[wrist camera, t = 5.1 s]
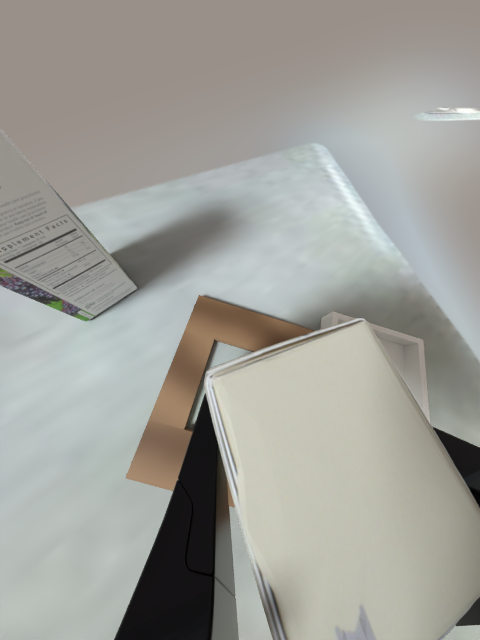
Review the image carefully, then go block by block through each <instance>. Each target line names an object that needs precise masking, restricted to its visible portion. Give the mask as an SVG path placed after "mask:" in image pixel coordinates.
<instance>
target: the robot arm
mask: <svg viewBox="0 0 480 640" xmlns="http://www.w3.org/2000/svg"><path fill="white" fill-rule="evenodd" d="M433 429H434V431H435V432H436V434H437V436H438V438H439V439H440V441H441V443H442V444H443V446H444V448H445V449H446V451H447V453H448V454H449V456H450V458H451V459H452V461H453V463H454V465H455V467H456V468H457V470H458V472H459V473H460V475H461V476H462V478H463V480H464V481H465V483H466V485H467V486H468V488H469V490H470V492H471V494H472V495H473V497H474V499H475V501H476V503H477V504H478V506H479V508H480V447H477V446H475V445H473V444H470V443H468V442H466V441H464V440H461V439H459V438H457V437H454V436H452V435H450V434H448V433H445V432H443V431H441V430H439V429H436V428H434V427H433ZM467 625H480V597H479V598H478V599H477V600H476V601H475V602H474V604H473V605H472V606H471V608H470V609H469V610H468V611H467V613H466V614H465V615H464V616H463V617H462V618H461V619H460V620H459V621H458V622H457V623H456V626H467ZM114 640H239V638H238V624H237V610H236V599H235V583H234V569H233V556H232V542H231V528H230V514H229V501H228V487H227V476H226V472H225V468H224V464H223V460H222V456H221V452H220V448H219V444H218V441H217V437H216V433H215V429H214V426H213V422H212V417H211V413H210V409H209V405H208V400H207V396H206V392H205V395H204V398H203V401H202V404H201V407H200V410H199V413H198V417H197V420H196V423H195V426H194V429H193V432H192V435H191V438H190V441H189V444H188V447H187V450H186V454H185V457H184V460H183V463H182V466H181V469H180V472H179V475H178V480H177V481H176V484H175V487H174V490H173V493H172V496H171V499H170V502H169V505H168V508H167V511H166V514H165V516H164V519H163V522H162V524H161V527H160V529H159V532H158V534H157V537H156V539H155V542H154V545H153V547H152V549H151V552H150V554H149V557H148V559H147V562H146V564H145V566H144V569H143V571H142V574H141V576H140V579H139V581H138V583H137V586H136V588H135V591H134V593H133V596H132V598H131V600H130V603H129V605H128V608H127V610H126V613H125V615H124V617H123V620H122V622H121V625H120V627H119V629H118V632H117V634H116V636H115V639H114Z"/></svg>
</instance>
